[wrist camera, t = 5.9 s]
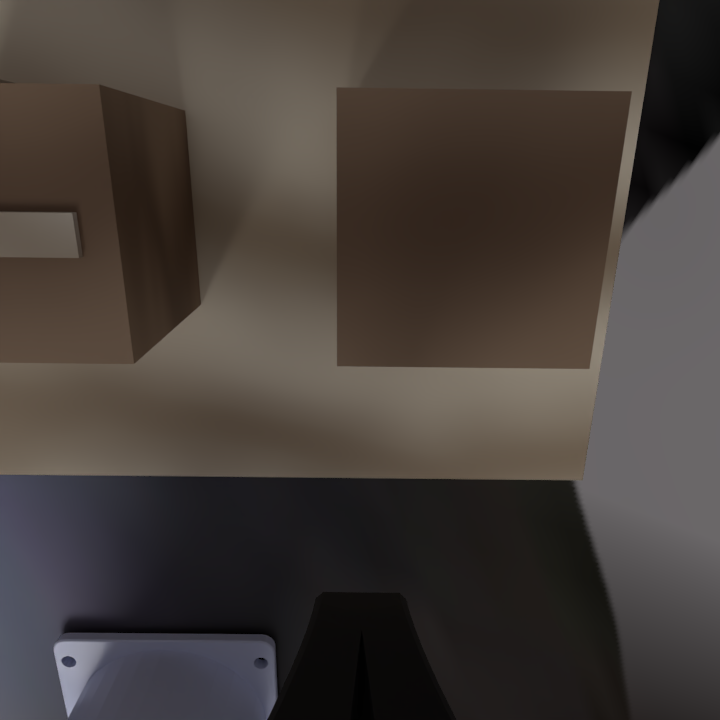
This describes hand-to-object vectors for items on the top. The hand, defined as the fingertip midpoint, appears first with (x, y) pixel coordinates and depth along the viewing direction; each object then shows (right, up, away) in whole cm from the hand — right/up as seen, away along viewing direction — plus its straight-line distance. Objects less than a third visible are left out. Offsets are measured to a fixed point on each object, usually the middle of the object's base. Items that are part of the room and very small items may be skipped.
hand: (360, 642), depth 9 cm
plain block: (+2, +8, +6) cm, 11 cm away
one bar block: (-7, +8, +6) cm, 12 cm away
